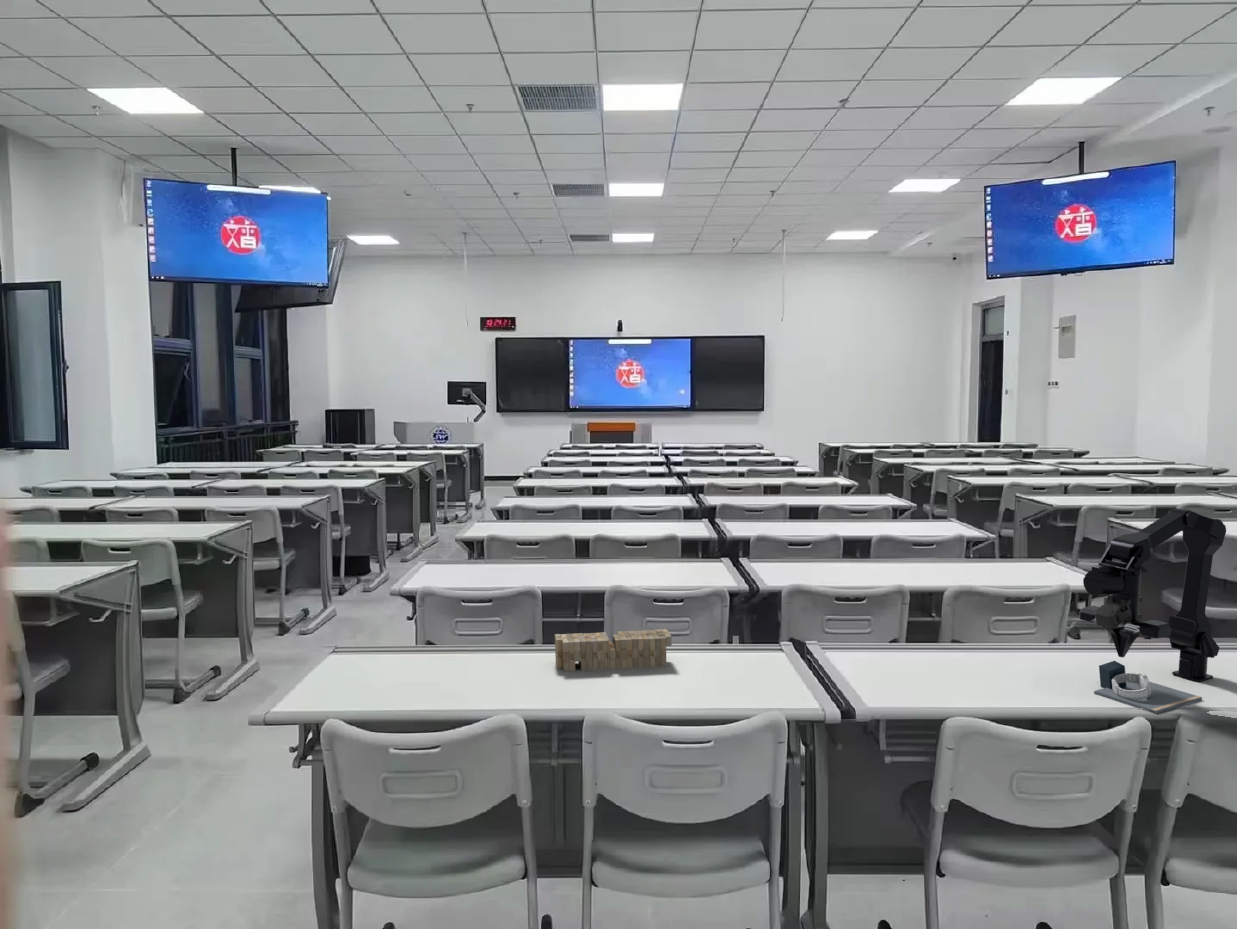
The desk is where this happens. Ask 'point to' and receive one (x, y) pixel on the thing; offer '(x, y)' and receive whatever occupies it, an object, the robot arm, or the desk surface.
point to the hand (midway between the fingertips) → (1121, 657)
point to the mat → (1153, 697)
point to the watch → (1123, 681)
